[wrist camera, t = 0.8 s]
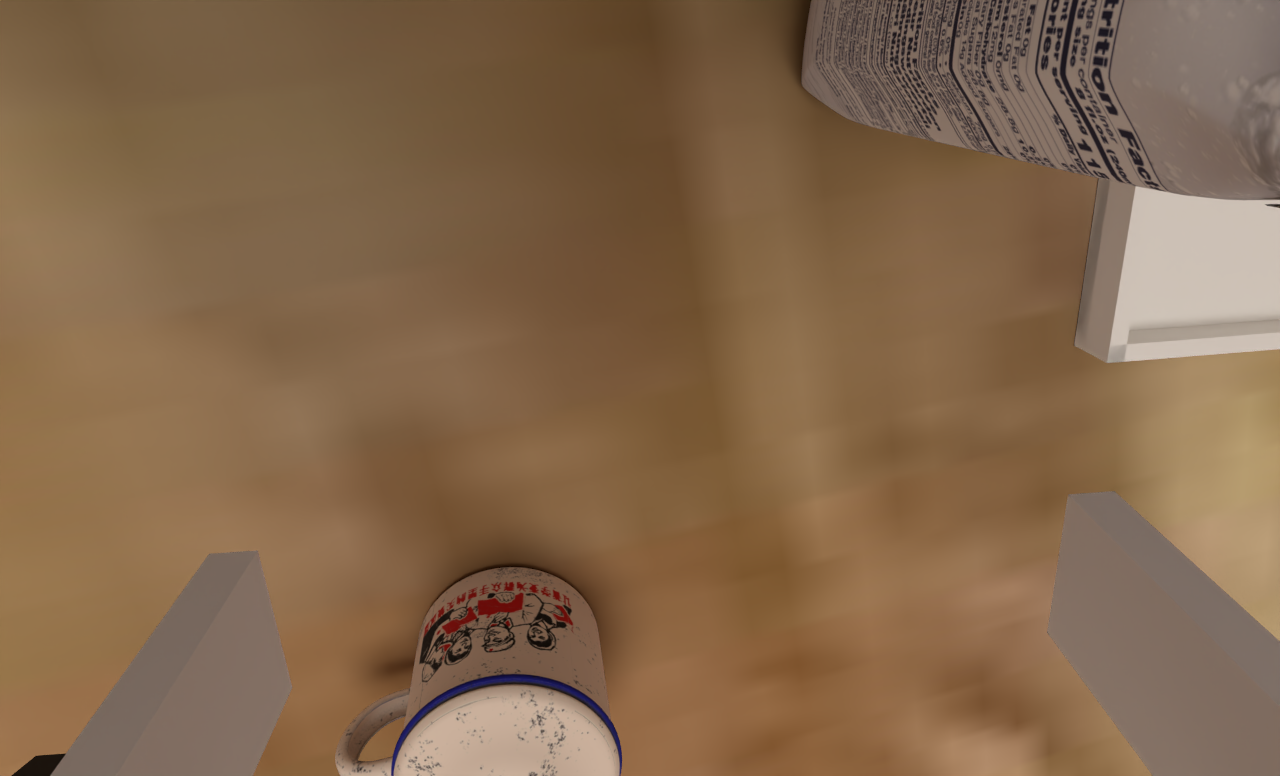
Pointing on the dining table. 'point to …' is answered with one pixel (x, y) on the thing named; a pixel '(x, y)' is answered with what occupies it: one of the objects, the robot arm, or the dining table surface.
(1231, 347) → the carton tray
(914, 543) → the dining table surface
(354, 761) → the teacup with lid
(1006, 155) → the juice carton
